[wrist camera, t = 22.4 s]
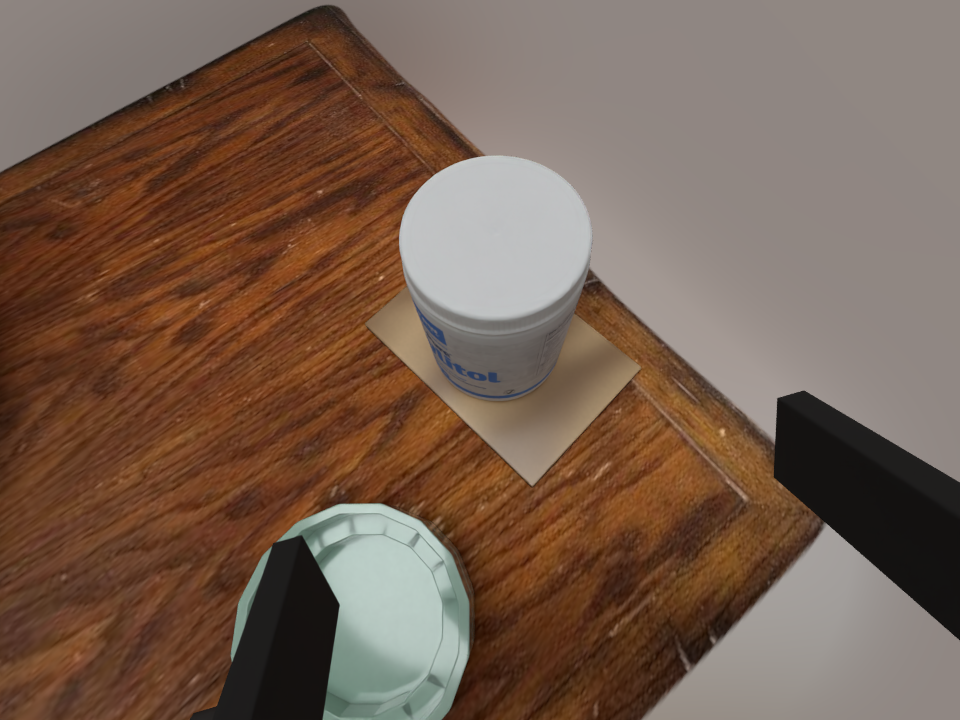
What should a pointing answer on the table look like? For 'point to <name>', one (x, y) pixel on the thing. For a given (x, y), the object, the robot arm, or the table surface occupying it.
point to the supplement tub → (496, 271)
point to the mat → (533, 417)
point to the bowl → (387, 611)
